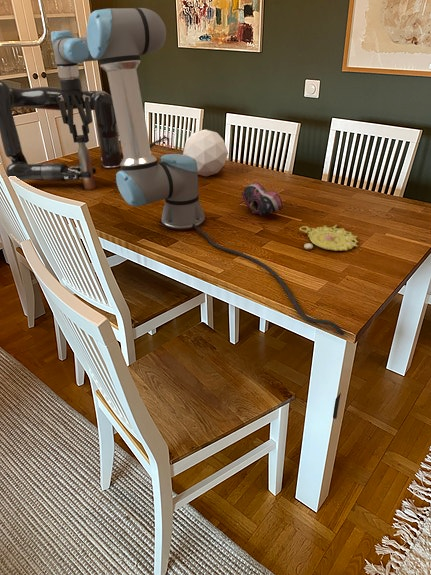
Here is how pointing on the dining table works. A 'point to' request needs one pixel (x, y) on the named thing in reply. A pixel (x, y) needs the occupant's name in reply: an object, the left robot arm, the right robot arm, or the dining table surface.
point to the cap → (80, 139)
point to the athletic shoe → (261, 200)
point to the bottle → (86, 166)
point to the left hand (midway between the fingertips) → (93, 172)
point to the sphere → (206, 151)
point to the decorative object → (330, 238)
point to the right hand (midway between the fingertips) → (81, 141)
